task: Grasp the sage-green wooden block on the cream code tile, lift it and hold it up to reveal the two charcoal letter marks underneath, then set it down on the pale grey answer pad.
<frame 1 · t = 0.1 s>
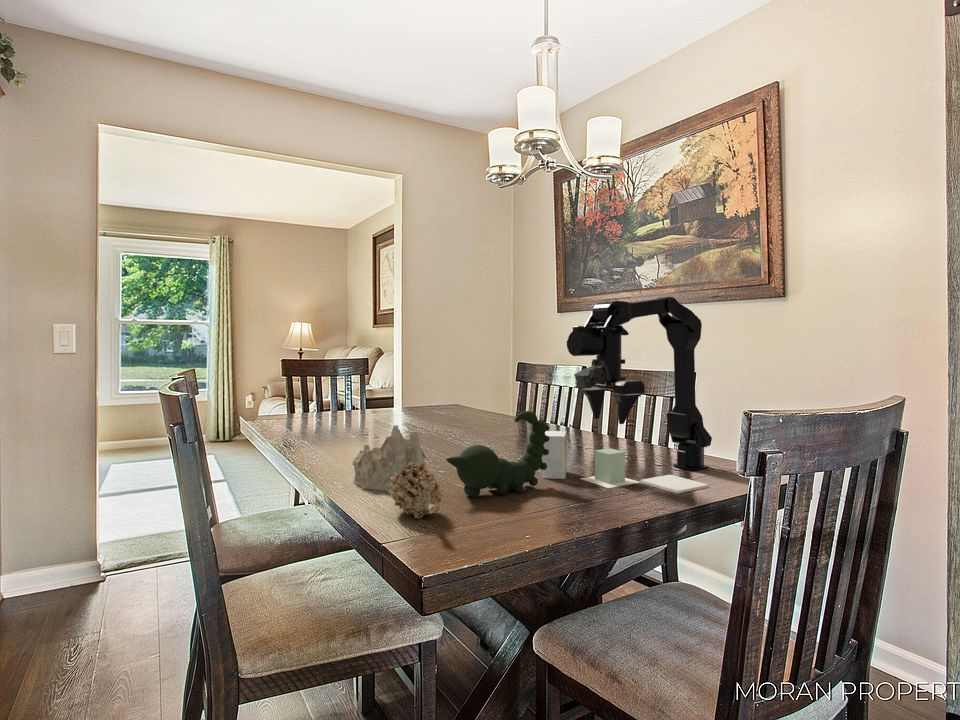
hand: (608, 421, 133), 14 cm above the table, fingers open, 9 cm apart
sage block: (609, 480, 135), on the table, touching code tile
ceramic cottage: (392, 483, 136), on the table
toy figurine: (498, 493, 126), on the table
answer pad: (673, 484, 131), on the table
small box: (554, 476, 141), on the table
code tile: (609, 480, 135), on the table
pine cone: (422, 520, 108), on the table
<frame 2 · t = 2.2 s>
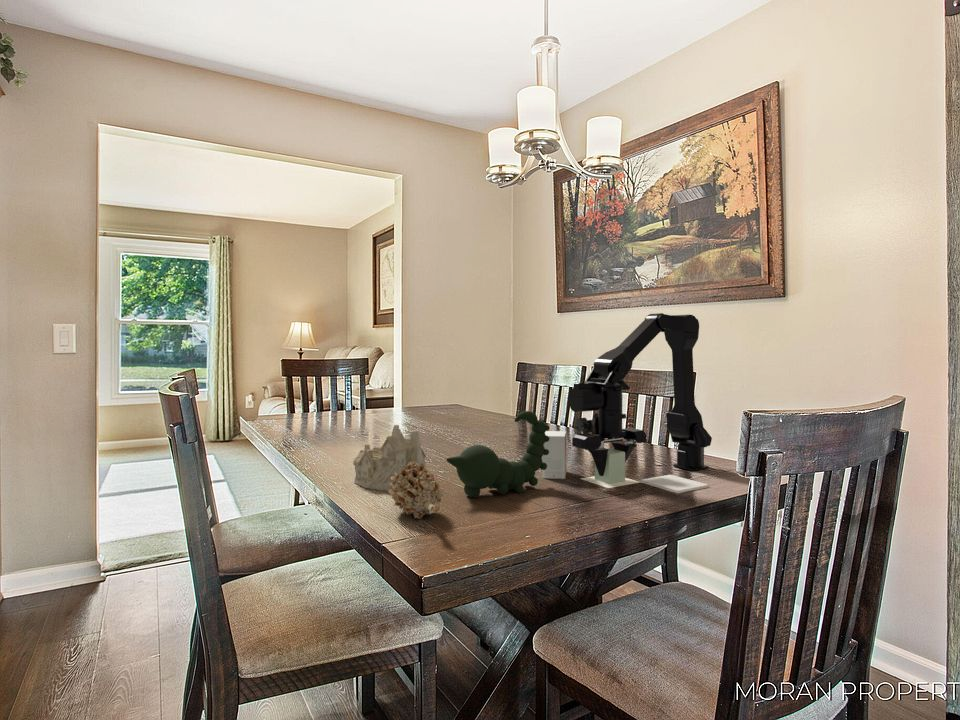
hand: (609, 474, 135), 2 cm above the table, fingers closed on sage block, 5 cm apart
sage block: (609, 480, 135), on the table, touching code tile, gripper
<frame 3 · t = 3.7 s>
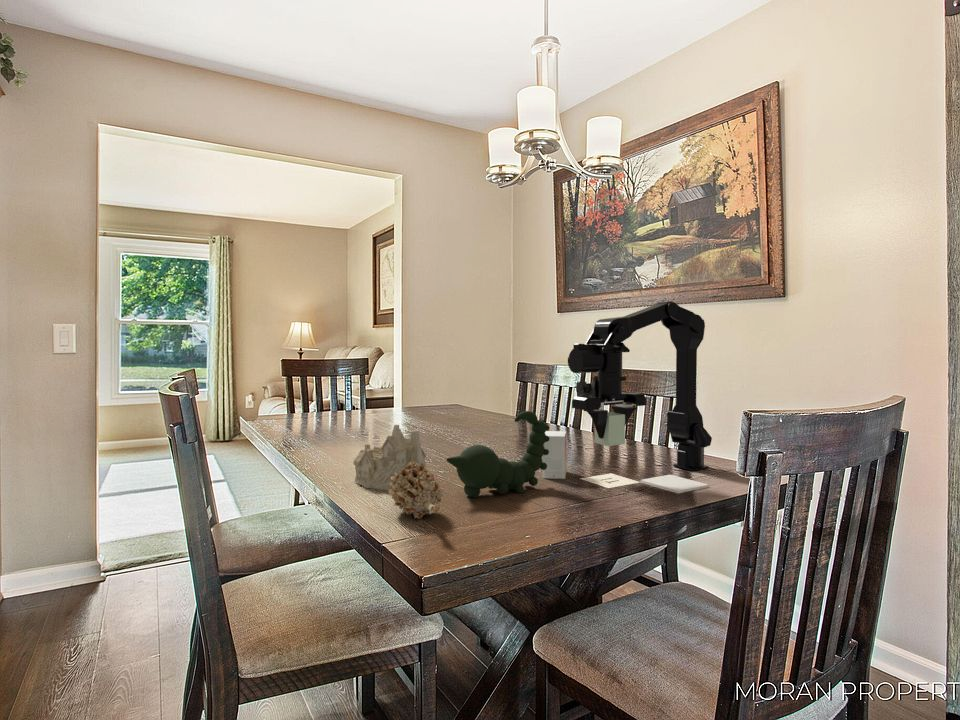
hand: (609, 437, 135), 10 cm above the table, fingers closed on sage block, 5 cm apart
sage block: (609, 443, 135), point 9 cm above the table, touching gripper
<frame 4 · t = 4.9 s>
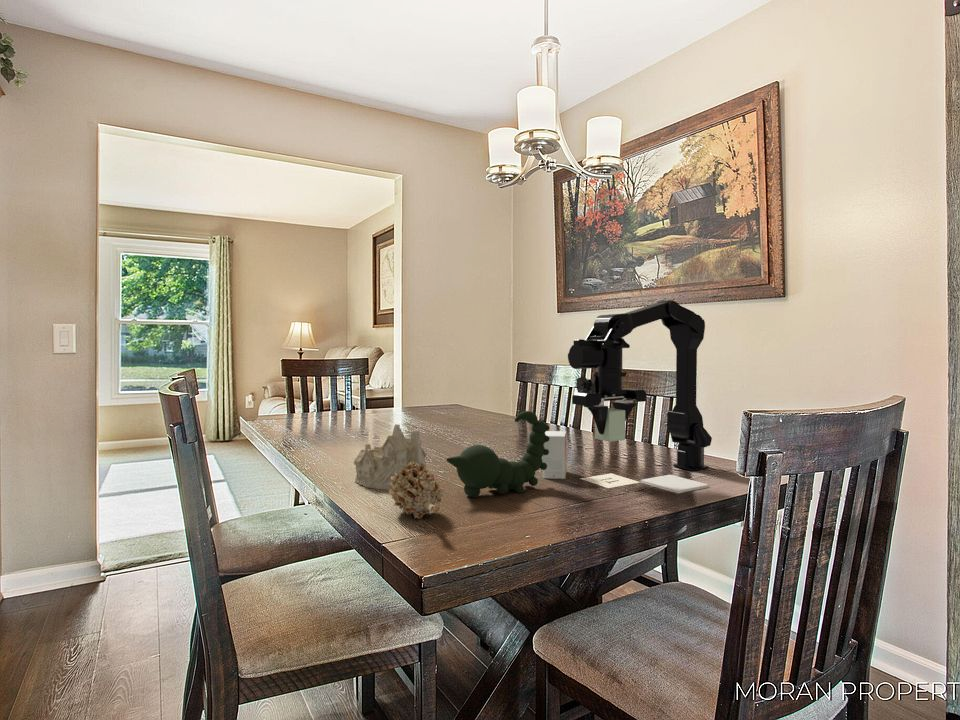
hand: (609, 433, 135), 11 cm above the table, fingers closed on sage block, 5 cm apart
sage block: (609, 439, 135), point 10 cm above the table, touching gripper
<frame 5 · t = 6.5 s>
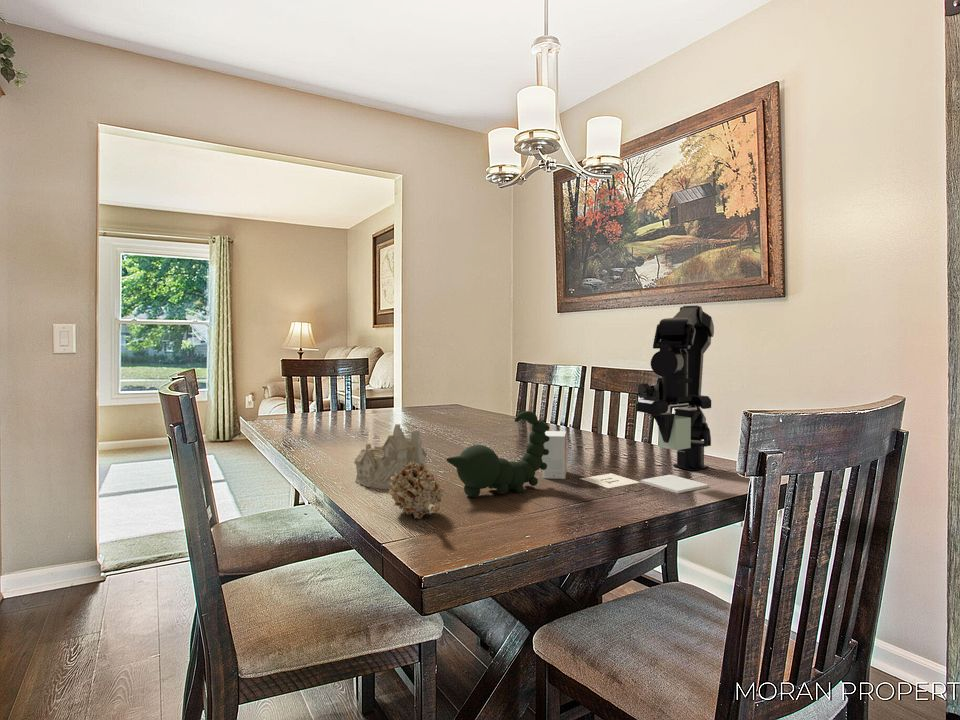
hand: (674, 441, 131), 10 cm above the table, fingers closed on sage block, 5 cm apart
sage block: (674, 447, 131), point 9 cm above the table, touching gripper
when the fingers open (4 cm above the table, at t = 8.0 s): sage block drops 2 cm, resting on answer pad.
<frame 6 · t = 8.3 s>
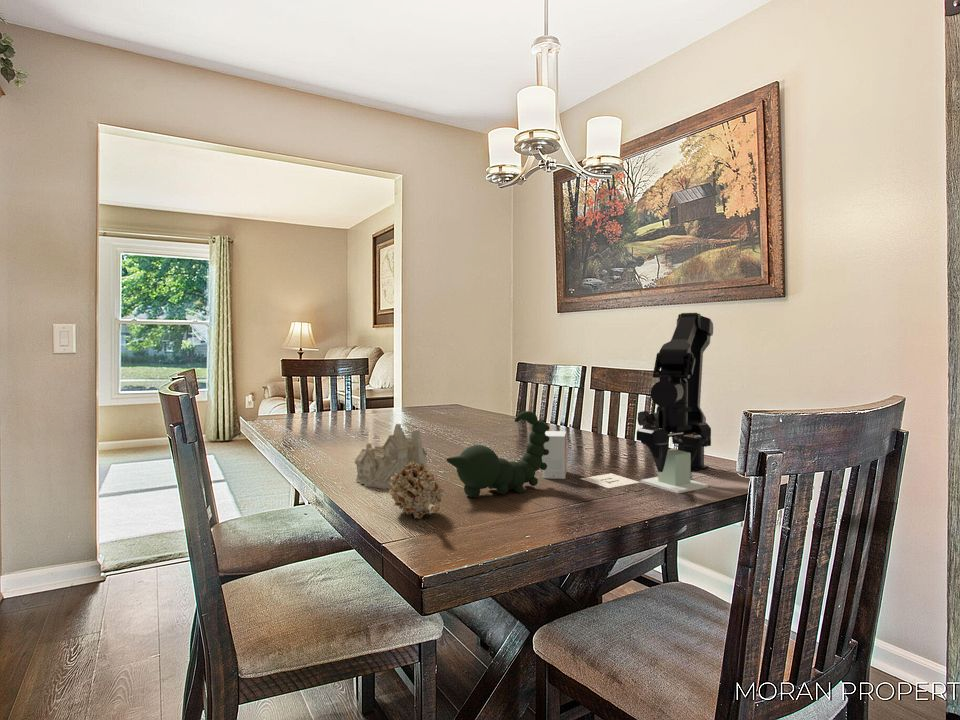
hand: (673, 469, 131), 4 cm above the table, fingers open, 9 cm apart
sage block: (674, 482, 131), point 1 cm above the table, touching answer pad
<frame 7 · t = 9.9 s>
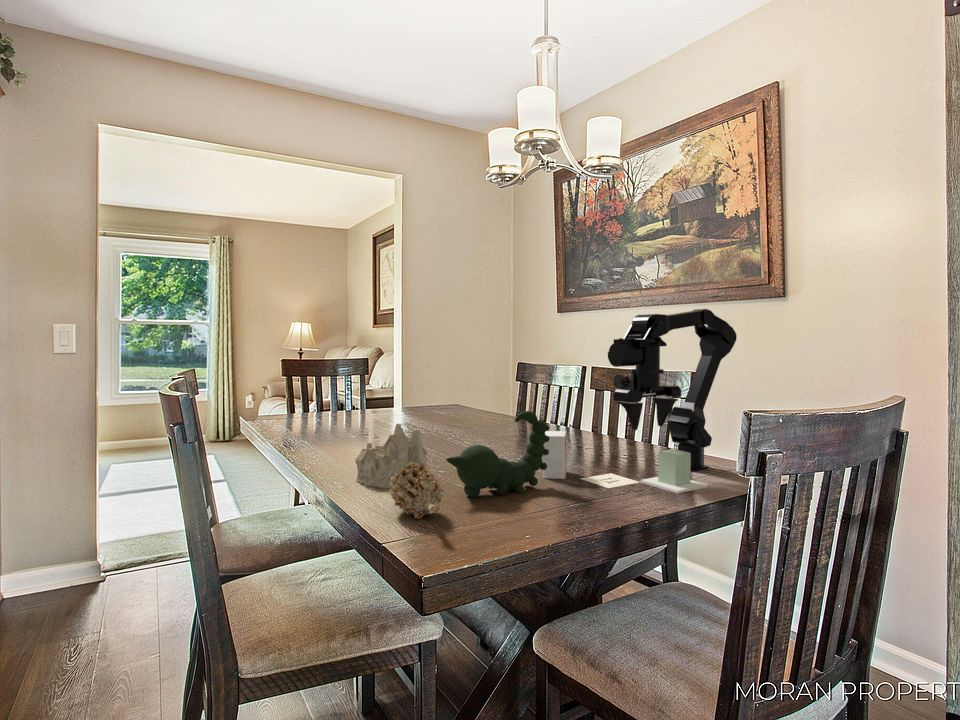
hand: (647, 428, 140), 12 cm above the table, fingers open, 9 cm apart
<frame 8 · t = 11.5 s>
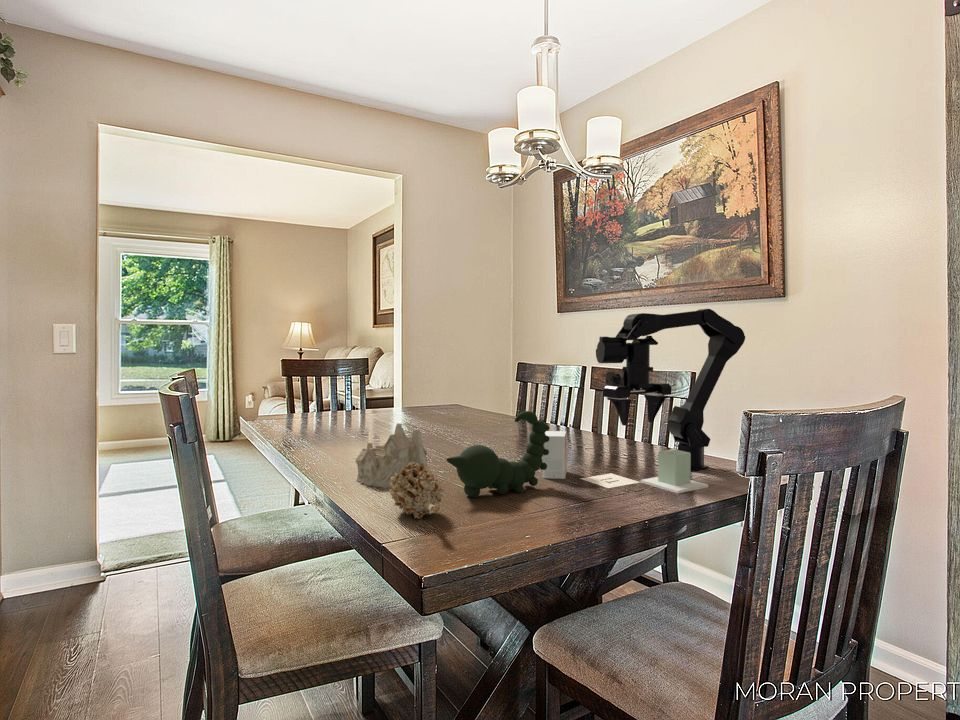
hand: (637, 423, 144), 12 cm above the table, fingers open, 9 cm apart
at the end: sage block 0.1 cm off-centre on the answer pad, point 0.6 cm above the answer pad's base; sage block tilted 0°; the gripper is holding nothing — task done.
